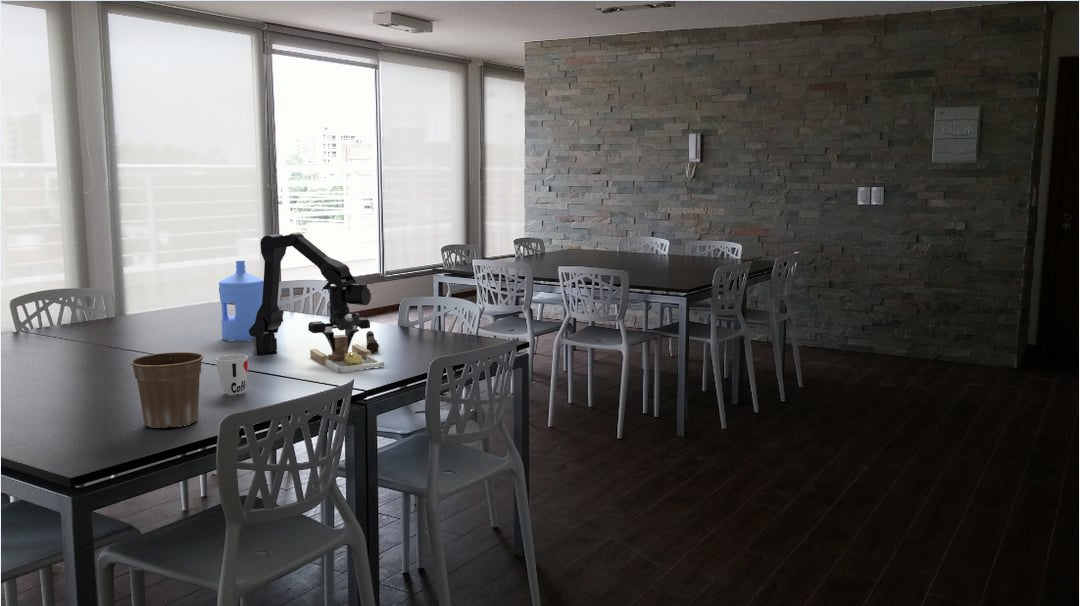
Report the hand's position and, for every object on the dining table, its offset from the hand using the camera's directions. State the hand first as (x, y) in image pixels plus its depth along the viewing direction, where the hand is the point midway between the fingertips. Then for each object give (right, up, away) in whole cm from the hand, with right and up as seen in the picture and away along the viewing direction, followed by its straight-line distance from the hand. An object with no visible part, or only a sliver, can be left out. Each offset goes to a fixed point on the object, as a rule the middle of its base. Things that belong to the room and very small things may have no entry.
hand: (340, 351), depth 288 cm
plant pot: (-25, -14, -71) cm, 76 cm away
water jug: (-43, +3, +37) cm, 57 cm away
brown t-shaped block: (0, -2, +1) cm, 2 cm away
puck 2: (+7, -4, -12) cm, 14 cm away
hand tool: (+6, 0, +17) cm, 18 cm away
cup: (-20, -9, -43) cm, 48 cm away
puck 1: (+5, -4, -8) cm, 11 cm away
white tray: (+7, -4, -11) cm, 13 cm away
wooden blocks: (0, -2, +1) cm, 2 cm away
